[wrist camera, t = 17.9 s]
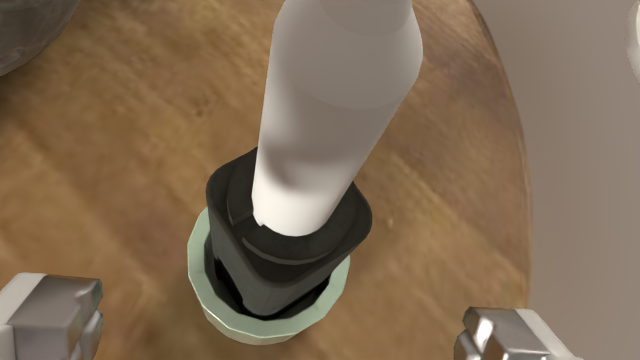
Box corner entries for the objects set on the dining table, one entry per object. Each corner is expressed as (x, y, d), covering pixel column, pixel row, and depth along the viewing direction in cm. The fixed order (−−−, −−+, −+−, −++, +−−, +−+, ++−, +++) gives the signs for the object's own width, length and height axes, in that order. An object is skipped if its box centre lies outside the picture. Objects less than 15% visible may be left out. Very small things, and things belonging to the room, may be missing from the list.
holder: (340, 235, 31) (364, 204, 25) (307, 362, 27) (327, 358, 22) (222, 198, 30) (221, 159, 25) (174, 322, 27) (160, 308, 21)
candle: (207, 261, 28) (117, -251, 5) (278, 220, 30) (439, -288, 7) (251, 335, 26) (384, 87, 4) (322, 287, 28) (687, -67, 6)
